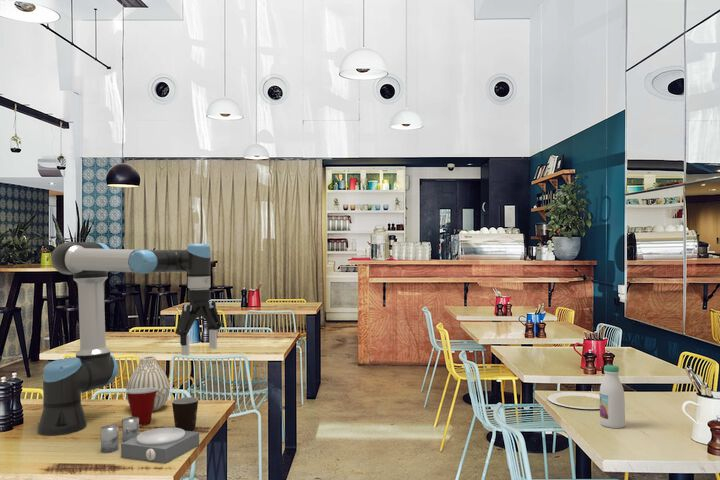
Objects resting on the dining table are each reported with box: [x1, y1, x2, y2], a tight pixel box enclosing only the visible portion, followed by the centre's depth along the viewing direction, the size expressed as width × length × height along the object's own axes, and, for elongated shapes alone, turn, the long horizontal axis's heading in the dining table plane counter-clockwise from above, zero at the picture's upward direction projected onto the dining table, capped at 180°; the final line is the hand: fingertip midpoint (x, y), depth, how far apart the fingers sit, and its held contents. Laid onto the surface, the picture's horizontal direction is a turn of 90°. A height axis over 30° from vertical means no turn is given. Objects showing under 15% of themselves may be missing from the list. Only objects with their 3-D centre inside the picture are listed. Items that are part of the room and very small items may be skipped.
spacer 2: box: [121, 416, 140, 443], centre depth 184 cm, size 5×5×7 cm
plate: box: [547, 391, 600, 411], centre depth 223 cm, size 25×25×1 cm
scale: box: [120, 426, 200, 464], centre depth 174 cm, size 16×17×5 cm
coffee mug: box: [171, 396, 199, 432], centre depth 196 cm, size 12×9×10 cm
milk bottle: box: [599, 364, 626, 429], centre depth 193 cm, size 8×8×20 cm
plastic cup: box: [125, 388, 158, 426], centre depth 204 cm, size 11×11×12 cm
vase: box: [125, 355, 171, 412], centre depth 221 cm, size 16×16×20 cm
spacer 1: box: [100, 424, 120, 454], centre depth 176 cm, size 5×5×7 cm
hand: (199, 351), depth 193 cm, fingers open, 13 cm apart
